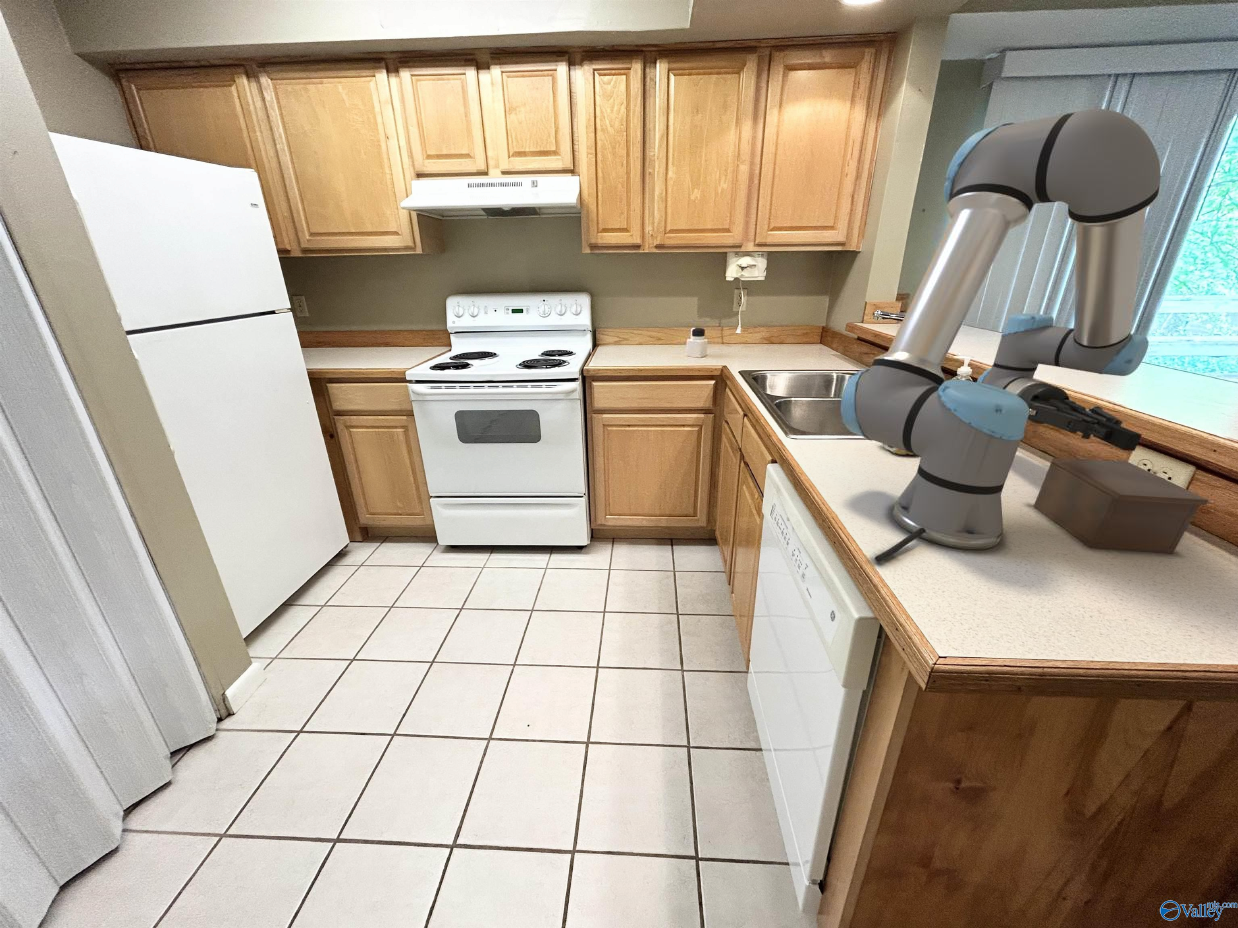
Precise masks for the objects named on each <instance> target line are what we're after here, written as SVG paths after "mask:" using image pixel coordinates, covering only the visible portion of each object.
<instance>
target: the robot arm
mask: <svg viewBox="0 0 1238 928" xmlns="http://www.w3.org/2000/svg"><path fill="white" fill-rule="evenodd" d="M1159 158H1160V157H1159V155H1158V152H1157V149H1156V148H1155V145H1154V143H1153V141H1152V139H1150V137H1149V135H1148V133H1147V132H1146V131H1145V130H1144V128H1142V127H1141V125H1140V124H1139V123H1137V122H1135V121H1134V120H1133V119H1132V118H1130V117H1128V116H1127V115H1125V114H1123V113H1121V112H1119V111H1116V110H1112V109H1106V108H1087V109H1082V110H1081V109H1080V110H1078V111H1076V112H1075V111H1074V112H1070V113H1063V114H1059V115H1054V116H1048V117H1043V118H1038V119H1034V120H1028V121H1027V120H1026V121H1022V122H1017V123H1015V122H1004V123H1001V124H998V125H996V126H993V127H989V128H984V129H981V130H980V131H978V132H975V133H974V134H972V135H971V136H969V138H967V139H966V140H965V141H964V142H963V144H961V146H960V147H959V148H958V150H957V151H956V153H955V154H954V155H953V157H952V159H951V161H950V163H949V166H948V168H947V171H946V174H945V179H946V182H945V183H944V185H943V197H944V201H945V203H946V205H947V206H946V212H947V214H948V216H949V218H950V222H949V223H948V225H947V227H946V230H945V232H944V234H943V236H942V237H941V240H940V242H939V244H938V246H937V248H936V251H935V253H934V255H933V256H932V259H931V261H930V262H929V265H928V267H927V270H926V272H924V276H923V278H922V279H921V282H920V284H919V286H918V288H917V290H916V292H915V294H914V297H913V298H912V300H911V302H910V304H909V307H908V309H907V311H906V313H905V316H904V317H903V319H902V321H901V324H900V325H899V328H898V329H897V332H896V334H895V335H894V338H893V340H892V343H891V344H890V347H889V348H888V350H887V351H886V352H885V353H883V354H880V355H878V356H876V357H875V358H874V359H873V361H872V363H871V366H870V367H869V369H862V370H859V371H856V372H855V373H854V375H852V376H851V377H850V378H849V379H848V381H847V382H846V384H845V386H844V389H843V392H842V395H841V399H840V414H841V420H842V422H843V425H844V426H845V428H846V429H847V430H848V431H850V432H851V433H853V434H855V435H858V436H860V437H862V438H864V439H866V440H867V441H871V442H872V441H874V442H877V443H880V444H882V443H883V444H886V445H889V446H892V447H895V448H898V449H901V450H904V451H907V452H910V453H913V454H914V455H916V456H918V457H920V459H919V463H918V466H917V470H916V473H915V475H914V476H913V478H912V479H911V480H910V482H909V483H908V485H907V486H906V487H905V488H904V490H903V491H902V493H901V494H900V495H899V497H898V498H897V499H896V501H895V504H894V507H893V511H892V516H893V518H894V520H895V521H896V522H897V523H898V524H899V525H900V526H901V527H902V528H903V529H905V530H906V531H907V532H909V533H910V534H908V536H905V537H904V538H903V539H902V540H900V541H899V542H897V543H896V544H894V545H893V546H892V547H890V548H888V549H886V550H885V551H883V552H881V553H880V554H878V555H876V556H874V561H875V562H877V563H880V562H882V561H884V560H885V559H887V558H889V557H891V556H893V555H894V554H896V553H898V552H899V551H900V550H902V549H903V548H905V547H906V546H907V545H909V544H910V543H912V542H914V541H915V540H916V539H918V538H919V537H920V539H921V538H922V539H924V540H926V541H929V542H932V543H936V544H939V545H942V546H946V547H951V548H956V549H963V550H985V549H990V548H992V547H995V546H997V545H998V544H999V542H1000V540H1001V537H1002V536H1003V533H1004V519H1003V505H1002V494H1003V493H1002V492H1003V489H1004V487H1005V484H1006V481H1007V479H1008V476H1009V473H1010V471H1011V468H1012V465H1013V463H1014V459H1015V457H1016V455H1017V451H1018V449H1019V446H1020V444H1021V441H1022V439H1023V438H1024V435H1025V434H1026V432H1025V431H1026V426H1027V421H1028V422H1031V423H1033V424H1036V425H1048V426H1052V427H1054V428H1056V429H1059V430H1062V431H1066V432H1068V433H1070V434H1077V433H1081V437H1080V438H1081V439H1084V440H1090V439H1091V437H1093V438H1096V439H1098V440H1100V441H1103V442H1105V443H1107V444H1109V445H1111V446H1113V447H1115V448H1118V449H1120V450H1123V451H1128V452H1129V451H1131V452H1135V451H1136V448H1137V447H1138V445H1139V442H1140V440H1141V438H1142V436H1143V434H1142V433H1139V432H1136V431H1134V430H1131V429H1129V428H1127V427H1124V426H1122V424H1123V423H1124V422H1123V420H1121V419H1119V418H1118V417H1116V416H1114V415H1112V414H1110V413H1108V412H1107V411H1105V410H1103V407H1100V406H1098V405H1097V406H1091V407H1089V408H1088V409H1087V408H1086V407H1085V406H1083V405H1081V404H1078V403H1076V401H1074V400H1071V399H1070V397H1069V394H1068V393H1067V391H1066V390H1064V389H1063V388H1062V387H1058V386H1055V385H1053V384H1050V383H1048V382H1045V381H1043V380H1039V379H1036V378H1034V376H1035V374H1036V371H1037V369H1038V367H1039V365H1042V366H1043V365H1044V366H1050V367H1056V368H1057V367H1058V368H1062V369H1069V370H1074V371H1080V372H1086V373H1087V372H1088V373H1092V374H1098V375H1107V376H1108V375H1109V376H1118V377H1126V376H1127V377H1128V376H1129V375H1131V374H1133V373H1134V372H1136V370H1137V369H1139V367H1140V365H1141V364H1142V362H1143V360H1144V358H1145V356H1146V355H1147V352H1148V349H1149V343H1150V341H1149V339H1148V337H1146V336H1144V335H1140V334H1136V333H1131V331H1132V326H1133V325H1132V324H1133V317H1134V309H1135V301H1136V292H1137V287H1138V286H1137V285H1138V278H1139V269H1140V262H1141V255H1142V247H1143V237H1144V231H1145V224H1146V223H1145V222H1146V214H1147V208H1149V207H1151V205H1153V204H1154V203H1155V201H1157V199H1158V196H1159V192H1160V185H1161V177H1162V174H1161V173H1162V171H1161V163H1160V159H1159ZM1057 202H1061V203H1064V204H1066V205H1067V216H1068V218H1069V219H1070V221H1072V222H1073V223H1076V229H1075V230H1076V231H1075V232H1076V233H1075V271H1074V273H1075V274H1074V283H1075V284H1074V314H1073V315H1074V316H1073V317H1074V320H1073V327H1064V326H1057V325H1054V323H1055V318H1054V316H1052V315H1048V314H1042V313H1041V314H1040V313H1025V312H1024V313H1023V312H1022V313H1021V312H1020V313H1014V314H1012V315H1010V316H1009V317H1008V319H1007V322H1006V324H1005V326H1004V329H1003V331H1002V333H1001V335H1000V340H999V344H998V347H997V350H996V353H995V358H994V360H993V363H992V365H991V367H990V368H988V369H986V370H985V371H983V372H982V374H981V375H980V376H979V377H978V378H977V381H971V380H967V379H949V380H946V377H945V375H944V373H943V371H942V365H943V363H944V361H945V360H946V357H947V355H948V353H949V351H950V349H951V347H952V345H953V344H954V341H955V339H956V337H957V335H958V333H959V331H960V329H961V327H962V325H963V324H964V322H965V319H966V317H967V315H968V313H969V312H970V309H971V307H972V306H973V304H974V301H975V300H976V298H977V295H978V294H979V292H980V290H981V287H982V285H983V283H984V281H985V280H986V278H987V275H988V274H989V272H990V270H991V268H992V266H993V264H994V262H995V259H996V258H997V256H998V253H999V251H1000V250H1001V247H1002V245H1003V244H1004V242H1005V240H1006V238H1007V236H1008V234H1009V232H1010V230H1012V229H1014V228H1017V227H1018V226H1021V225H1022V224H1024V223H1025V222H1026V221H1027V219H1028V217H1029V215H1030V214H1031V212H1032V210H1033V208H1034V206H1035V205H1037V204H1047V203H1048V204H1049V203H1057ZM883 444H882V445H883Z"/></svg>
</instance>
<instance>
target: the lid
mask: <svg viewBox="0 0 1238 928" xmlns="http://www.w3.org/2000/svg"><path fill="white" fill-rule="evenodd" d="M1051 462H1053V463H1055V464H1057V465H1058V466H1060V467H1062V468H1064V469H1065V470H1067V471H1069V472H1071V473H1072V474H1074V475H1076V476H1078V477H1079V478H1081V479H1083V480H1085V481H1086V482H1088V483H1090V484H1092V485H1093V486H1095V487H1097V488H1099V489H1100V490H1102V491H1104V492H1106V493H1107V494H1109V495H1111V496H1113V497H1114V498H1116V499H1118V500H1132V501H1148V502H1164V503H1180V504H1196V505H1199V506H1207V505H1208V504H1209V499H1207V498H1205V497H1203V496H1201V495H1199V494H1197V493H1195V492H1193V491H1190V490H1189V489H1186V488H1185V487H1182V486H1180V485H1177V484H1176V483H1174V482H1171V481H1170V480H1168V479H1165V478H1163V477H1161V476H1158V475H1157V474H1154V473H1152V472H1150V471H1148V470H1147V469H1145V468H1141V467H1140V466H1138V465H1136V464H1134V463H1131V462H1129V461H1128V460H1126V461H1125V460H1112V459H1111V460H1107V459H1091V458H1090V459H1089V458H1073V457H1057V456H1055V457H1052V459H1051Z"/></svg>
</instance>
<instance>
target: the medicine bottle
mask: <svg viewBox="0 0 1238 928" xmlns="http://www.w3.org/2000/svg"><path fill="white" fill-rule="evenodd" d="M705 336H706V329H705V328H703V327H693V328H691V329H690V338H688V339H686V346H685V357H689V358H697V359H698V358H699V359H701V358H703V357H706V356H707V354H708V344H709V343H708V342H709V340H708V339H707V338H706V337H705Z"/></svg>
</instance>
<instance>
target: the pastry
mask: <svg viewBox="0 0 1238 928" xmlns="http://www.w3.org/2000/svg"><path fill="white" fill-rule="evenodd" d="M881 444H882V447H883V449H885V450H887V451H890V452H892V453H893V454H897V455H904V456H905V455H907V454H908V455H910V456H914V455H915V454H913V453H910V452H907V451H904V450H901V449H898V448H895V447H892V446H889V445H886V444H883V443H881Z"/></svg>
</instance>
